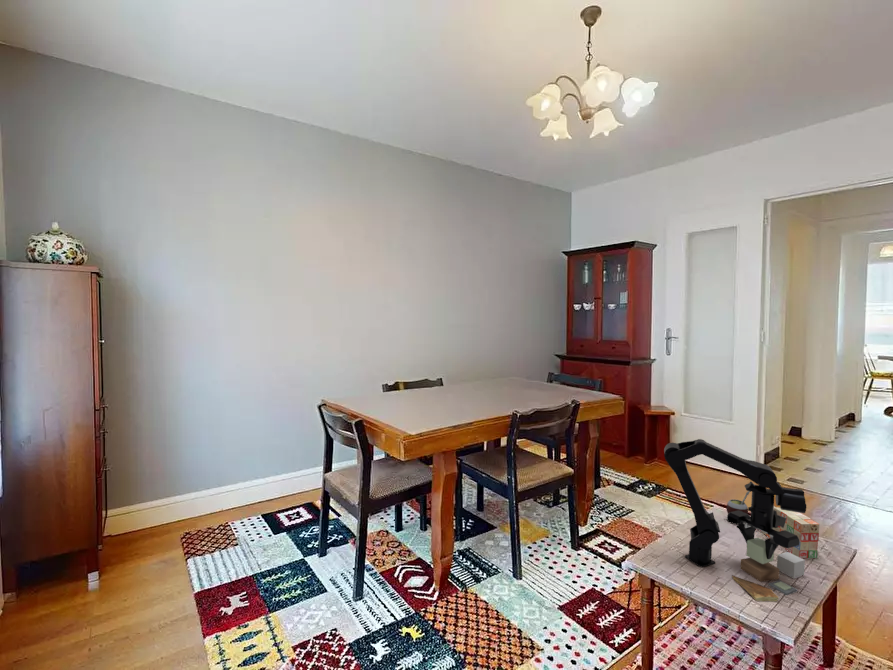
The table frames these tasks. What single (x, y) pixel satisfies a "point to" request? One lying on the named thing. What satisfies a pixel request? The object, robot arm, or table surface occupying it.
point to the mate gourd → (737, 505)
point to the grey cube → (790, 564)
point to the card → (782, 587)
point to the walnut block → (759, 570)
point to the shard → (756, 590)
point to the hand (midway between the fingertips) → (759, 554)
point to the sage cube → (758, 550)
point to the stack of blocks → (800, 533)
